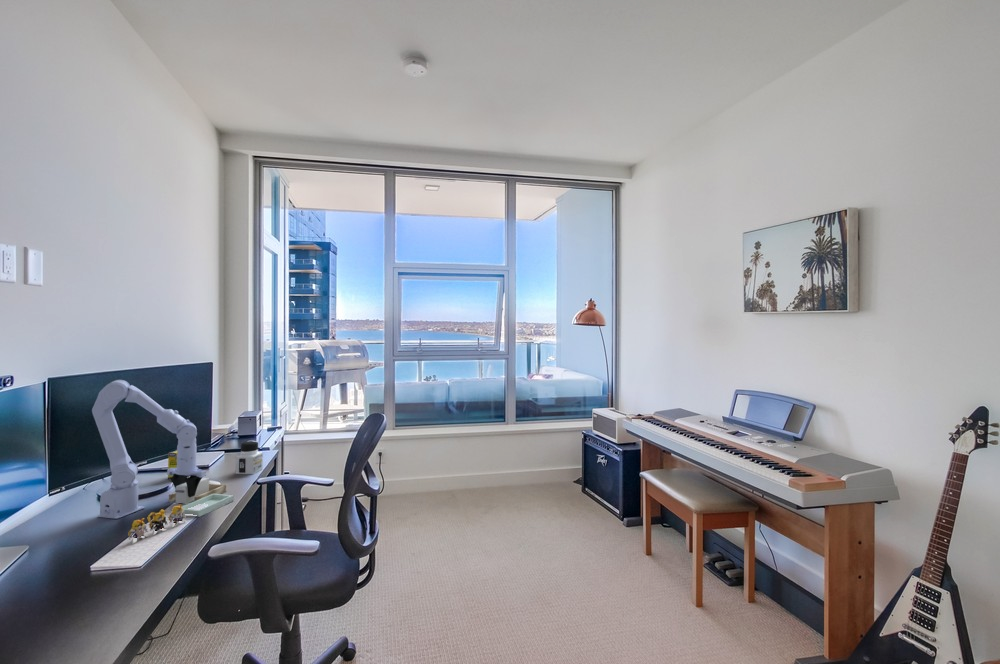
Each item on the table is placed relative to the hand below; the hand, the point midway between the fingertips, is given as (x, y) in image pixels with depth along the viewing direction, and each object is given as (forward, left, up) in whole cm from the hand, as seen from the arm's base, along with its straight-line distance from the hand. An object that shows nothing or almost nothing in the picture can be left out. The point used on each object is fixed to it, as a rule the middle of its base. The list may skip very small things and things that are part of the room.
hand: (186, 495), depth 161 cm
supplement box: (+22, +26, -2) cm, 34 cm away
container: (+35, +4, -2) cm, 35 cm away
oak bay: (+5, 0, -2) cm, 5 cm away
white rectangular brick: (+3, 0, -2) cm, 3 cm away
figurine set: (-22, -13, -2) cm, 26 cm away
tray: (-3, -12, -2) cm, 12 cm away
